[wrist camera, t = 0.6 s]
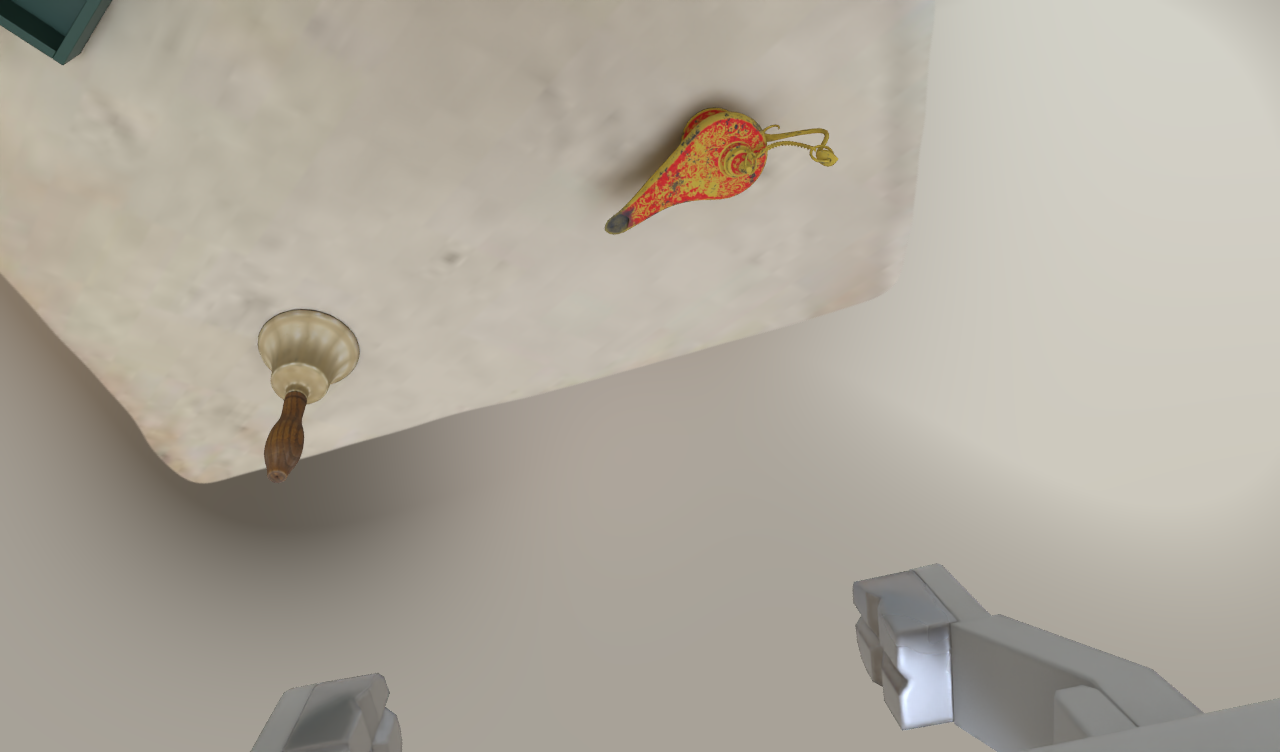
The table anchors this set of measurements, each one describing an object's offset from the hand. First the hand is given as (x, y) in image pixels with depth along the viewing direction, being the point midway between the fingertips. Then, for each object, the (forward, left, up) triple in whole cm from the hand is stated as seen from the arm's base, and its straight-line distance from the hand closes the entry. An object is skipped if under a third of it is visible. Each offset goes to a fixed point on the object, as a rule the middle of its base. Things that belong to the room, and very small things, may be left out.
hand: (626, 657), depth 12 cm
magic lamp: (+18, +2, -49) cm, 53 cm away
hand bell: (+6, -34, -49) cm, 60 cm away
